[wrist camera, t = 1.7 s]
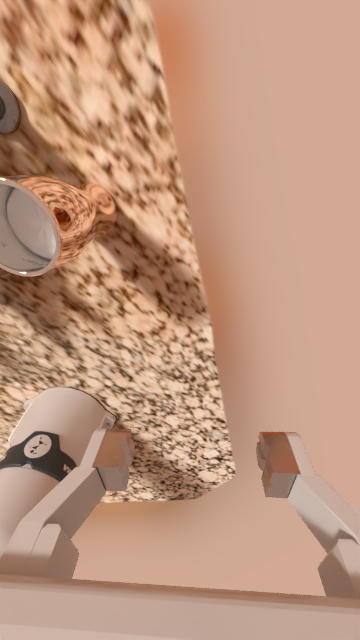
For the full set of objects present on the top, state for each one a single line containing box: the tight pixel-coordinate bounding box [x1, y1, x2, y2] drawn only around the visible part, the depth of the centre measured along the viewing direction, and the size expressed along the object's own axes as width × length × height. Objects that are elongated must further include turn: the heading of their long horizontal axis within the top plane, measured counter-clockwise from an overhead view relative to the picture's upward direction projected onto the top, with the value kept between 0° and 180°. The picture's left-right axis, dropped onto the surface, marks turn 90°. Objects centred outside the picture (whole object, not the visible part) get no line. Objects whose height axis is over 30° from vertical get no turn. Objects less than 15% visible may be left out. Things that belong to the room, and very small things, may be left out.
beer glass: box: [0, 175, 117, 277], centre depth 23 cm, size 7×7×15 cm
